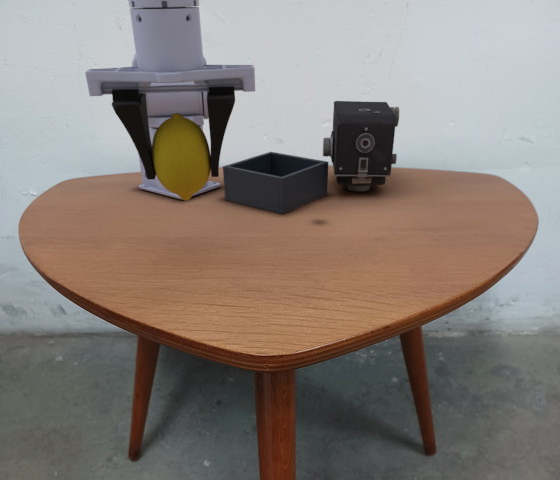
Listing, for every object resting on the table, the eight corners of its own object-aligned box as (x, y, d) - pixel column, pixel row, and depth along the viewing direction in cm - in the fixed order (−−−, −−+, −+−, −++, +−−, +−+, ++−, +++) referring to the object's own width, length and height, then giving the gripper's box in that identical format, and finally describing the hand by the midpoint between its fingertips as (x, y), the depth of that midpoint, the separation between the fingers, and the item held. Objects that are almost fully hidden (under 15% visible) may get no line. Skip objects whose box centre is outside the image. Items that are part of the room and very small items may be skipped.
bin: (224, 199, 77) (222, 166, 74) (271, 183, 83) (270, 151, 81) (282, 214, 71) (282, 178, 69) (327, 194, 78) (328, 161, 75)
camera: (399, 205, 77) (386, 166, 88) (411, 119, 69) (395, 88, 81) (323, 205, 77) (319, 166, 88) (327, 119, 70) (322, 89, 81)
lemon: (160, 193, 57) (149, 108, 53) (214, 191, 57) (207, 106, 53) (155, 210, 53) (142, 119, 48) (213, 208, 53) (206, 117, 48)
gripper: (64, 11, 42) (100, 190, 50) (254, 7, 43) (260, 184, 51) (82, 8, 48) (112, 169, 56) (249, 5, 49) (255, 164, 57)
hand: (183, 175), depth 54 cm, fingers closed on lemon, 5 cm apart
